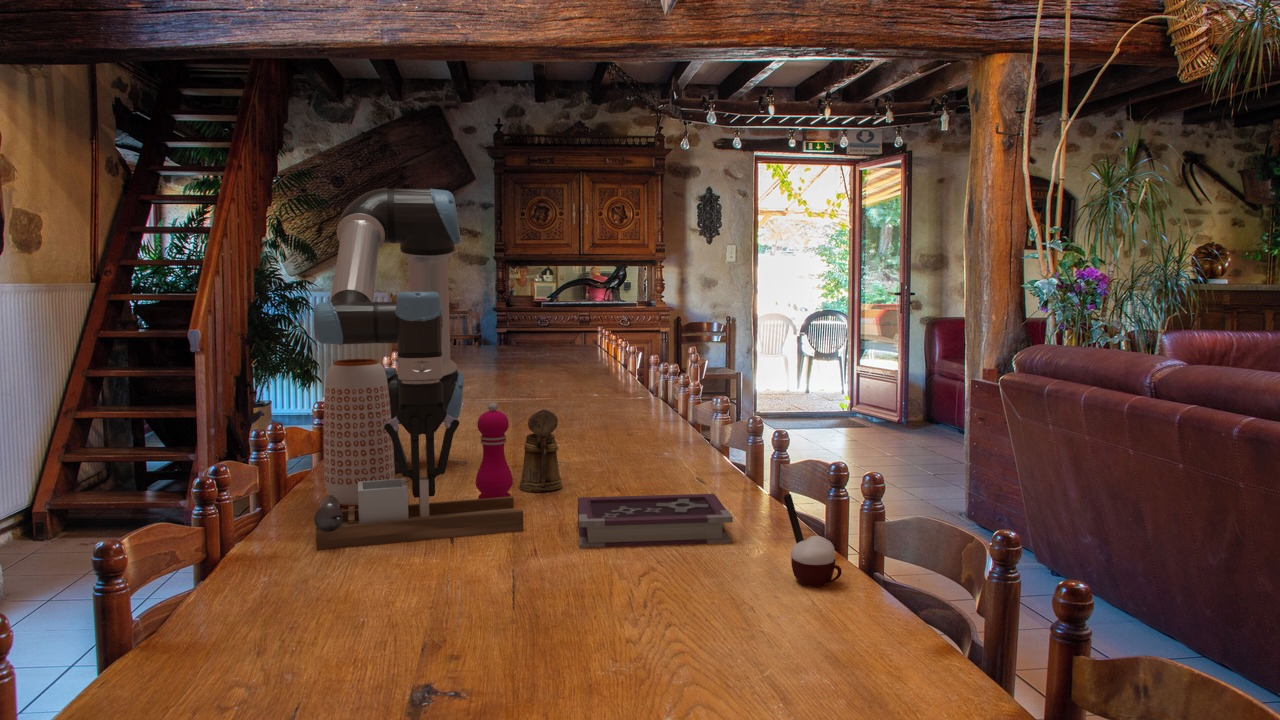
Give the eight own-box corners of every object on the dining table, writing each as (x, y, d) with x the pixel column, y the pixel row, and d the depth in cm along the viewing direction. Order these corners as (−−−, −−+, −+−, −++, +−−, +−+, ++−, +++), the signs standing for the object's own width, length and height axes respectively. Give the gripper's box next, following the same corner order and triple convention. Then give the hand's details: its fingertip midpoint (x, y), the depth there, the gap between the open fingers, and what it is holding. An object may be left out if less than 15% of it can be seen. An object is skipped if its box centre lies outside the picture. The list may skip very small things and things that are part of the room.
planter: (384, 510, 165) (380, 363, 163) (314, 511, 165) (308, 364, 163) (403, 493, 179) (399, 357, 176) (338, 494, 179) (333, 357, 176)
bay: (319, 531, 152) (318, 507, 152) (512, 514, 162) (512, 492, 162) (316, 549, 142) (315, 524, 141) (523, 530, 152) (523, 506, 152)
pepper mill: (505, 509, 166) (503, 406, 164) (470, 507, 168) (467, 405, 166) (518, 500, 173) (516, 400, 171) (484, 498, 175) (482, 399, 173)
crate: (359, 520, 152) (357, 481, 151) (406, 516, 154) (405, 478, 154) (359, 532, 145) (357, 491, 145) (408, 527, 148) (407, 487, 147)
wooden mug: (522, 499, 174) (520, 410, 172) (518, 483, 187) (516, 401, 185) (566, 497, 176) (565, 408, 174) (559, 481, 189) (558, 399, 187)
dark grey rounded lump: (317, 524, 151) (316, 492, 150) (344, 522, 152) (343, 490, 152) (314, 545, 139) (313, 510, 139) (343, 542, 140) (342, 508, 140)
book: (579, 551, 142) (579, 521, 141) (577, 523, 158) (577, 496, 157) (732, 546, 144) (732, 516, 144) (715, 519, 160) (715, 493, 160)
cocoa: (847, 591, 123) (853, 509, 122) (809, 596, 121) (815, 512, 119) (809, 568, 132) (815, 491, 130) (774, 572, 129) (779, 493, 128)
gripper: (382, 385, 144) (386, 524, 146) (461, 381, 148) (464, 517, 150) (380, 380, 151) (384, 512, 153) (456, 377, 155) (459, 506, 158)
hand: (424, 514), depth 152 cm, fingers closed
